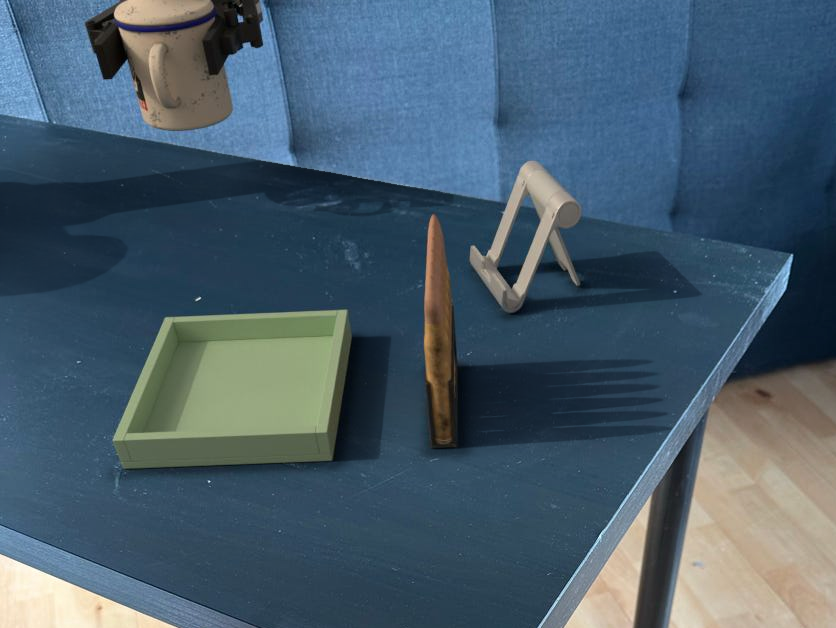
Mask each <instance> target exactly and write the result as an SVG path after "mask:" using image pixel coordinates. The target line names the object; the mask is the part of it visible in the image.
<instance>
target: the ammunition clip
mask: <svg viewBox="0 0 836 628" xmlns="http://www.w3.org/2000/svg"><path fill="white" fill-rule="evenodd" d="M442 230H443V229H442V226H441V224H440V221H439V219H438V217H437V216H436V214H435V213H434V214H433V213H432V215H431V217H430V219H429V223H428V229H427V245H426V268H425V283H424V286H425V287H424V305H423V306H424V310H423V311H424V337H423V351H424V360H425V361H424V362H425V377H424V385H425V386H424V387H425V398H426V410H427V421H428V430H429V431H428V432H429V442H430V449H445V448H458V441H459V440H458V439H459V438H458V435H459V433H458V430H459V429H458V428H459V426H458V422H459V421H458V418H459V417H458V416H459V413H458V409H459V407H458V404H459V402H458V400H459V399H458V397H459V395H458V393H459V392H458V391H459V388H458V387H459V380H458V377H459V376H458V375H459V374H458V373H459V370H458V369H459V366H458V352H457V351H458V350H457V337H456V321H455V306H454V305H453V304H452V303H453V302H452V289H451V276H450V272H449V268H448V264H447V263H448V262H447V254H446V247H445V246H446V245H445V240H444V234H443V231H442Z"/></svg>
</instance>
